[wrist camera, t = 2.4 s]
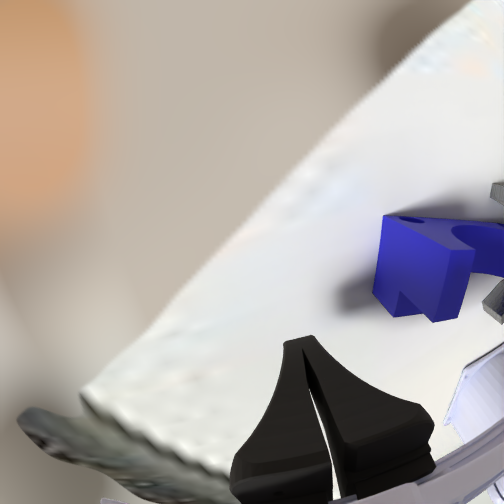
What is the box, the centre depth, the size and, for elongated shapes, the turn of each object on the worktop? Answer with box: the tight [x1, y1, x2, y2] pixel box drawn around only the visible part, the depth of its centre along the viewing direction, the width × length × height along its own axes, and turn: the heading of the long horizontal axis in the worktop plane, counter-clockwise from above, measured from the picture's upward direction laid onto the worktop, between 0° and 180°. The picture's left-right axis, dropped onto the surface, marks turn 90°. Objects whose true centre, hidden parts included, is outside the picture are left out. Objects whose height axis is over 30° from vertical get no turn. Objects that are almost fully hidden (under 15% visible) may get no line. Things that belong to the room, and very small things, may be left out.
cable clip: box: [372, 215, 504, 323], centre depth 12 cm, size 12×4×6 cm, turn 90°
